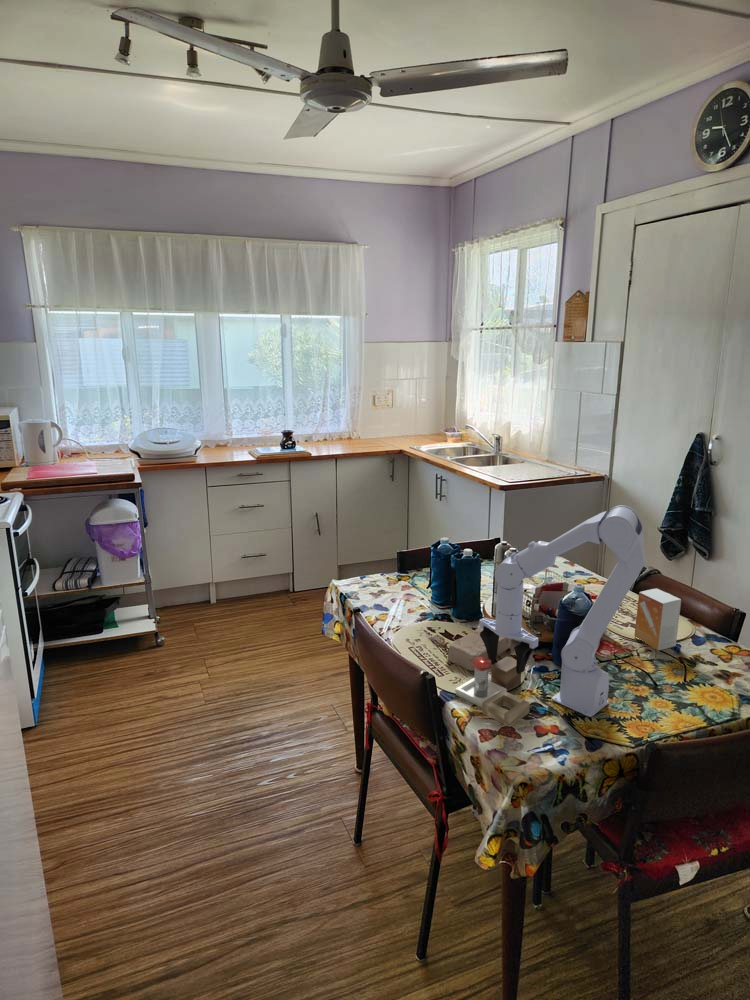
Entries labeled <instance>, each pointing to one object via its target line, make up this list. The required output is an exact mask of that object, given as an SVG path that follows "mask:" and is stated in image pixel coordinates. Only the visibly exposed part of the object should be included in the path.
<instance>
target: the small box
mask: <svg viewBox="0 0 750 1000" xmlns="http://www.w3.org/2000/svg"><path fill="white" fill-rule="evenodd" d="M681 604H682V599H681V598H679V597H677V596H674V595H673V594H671V593H669V592H666V591H664V590H661V589H660V588H650V589H647V590H643V591H639V592H638V599H637V608H636V618H635V627H634V636H635V637H637V638H639V639H641V640H643V641H644V642H645V643H644V642H643V643H644V644H646V645H647V644H648V645H647V646H649V647H651V648H653V649H654V650H656V651H658V652H659V651H662V650H665V649H670V648H674V647H676V645H677V638H678V630H679V622H680V621H679V620H680V612H681V607H682V605H681ZM635 637H634V638H635ZM637 638H636V639H637Z"/></svg>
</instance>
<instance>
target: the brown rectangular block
mask: <svg viewBox="0 0 750 1000" xmlns="http://www.w3.org/2000/svg"><path fill="white" fill-rule="evenodd" d="M516 664H517V659H515V658H512V657H510V656H506V657H504V658H502V659H499V661H497V662H495V663H493V664H491V667H490V668H491V670H490V671H491V672H490V674H491V675H490V681H491V682H493V683H495V684H497V685H499V686H502V687H504V688H506V689H507V691H509V690H510V689H512V688H513V687H515V686H517V685H518V684H520V683H521V682H522V673H520V674H518V673H517V672H516Z"/></svg>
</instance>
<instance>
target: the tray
mask: <svg viewBox="0 0 750 1000" xmlns="http://www.w3.org/2000/svg"><path fill="white" fill-rule="evenodd" d="M501 690H503V691H505V692H508V690H507V689H506V688H504V687H502V686H499V685H497V684H495V683H493V682H491V680H490V679H488V695H487V696H486V697H483V698H480V697H477V696H475V695H474V677H473V678H471V679H469V680H468V681H466V682H464V683H463V684H461V685H459V686H458V687H455V692H454V693H455V694H456V695H455V696H457V697H459V698H461V699H463V700H465V701H467V702H469V703H472V704H473V705H475V706H477V707H479V708H481V709H482V702H484V701H486V700H487V699H489V698H490V697H492V696H493V695H495V694H497V693H498V692H500V691H501Z"/></svg>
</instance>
